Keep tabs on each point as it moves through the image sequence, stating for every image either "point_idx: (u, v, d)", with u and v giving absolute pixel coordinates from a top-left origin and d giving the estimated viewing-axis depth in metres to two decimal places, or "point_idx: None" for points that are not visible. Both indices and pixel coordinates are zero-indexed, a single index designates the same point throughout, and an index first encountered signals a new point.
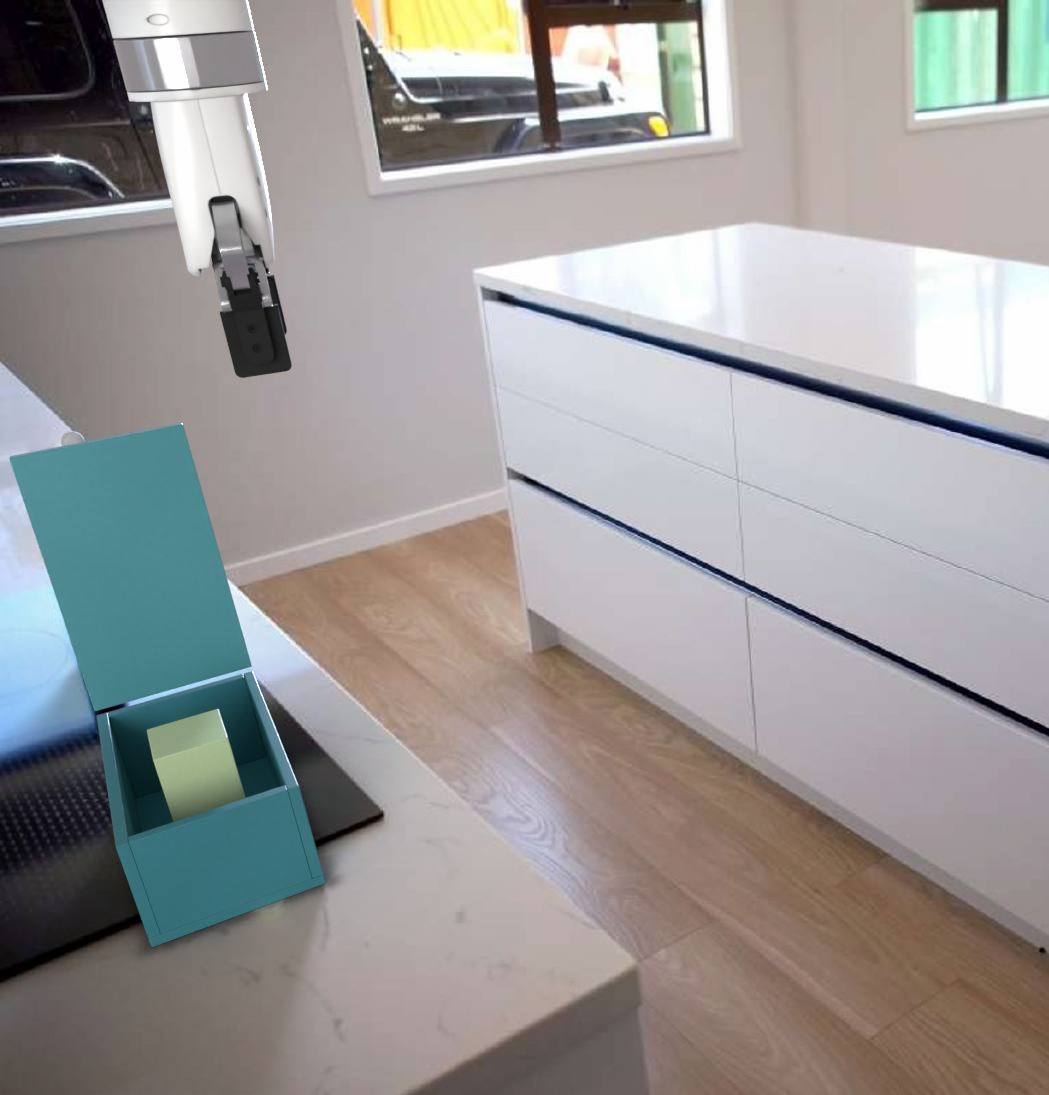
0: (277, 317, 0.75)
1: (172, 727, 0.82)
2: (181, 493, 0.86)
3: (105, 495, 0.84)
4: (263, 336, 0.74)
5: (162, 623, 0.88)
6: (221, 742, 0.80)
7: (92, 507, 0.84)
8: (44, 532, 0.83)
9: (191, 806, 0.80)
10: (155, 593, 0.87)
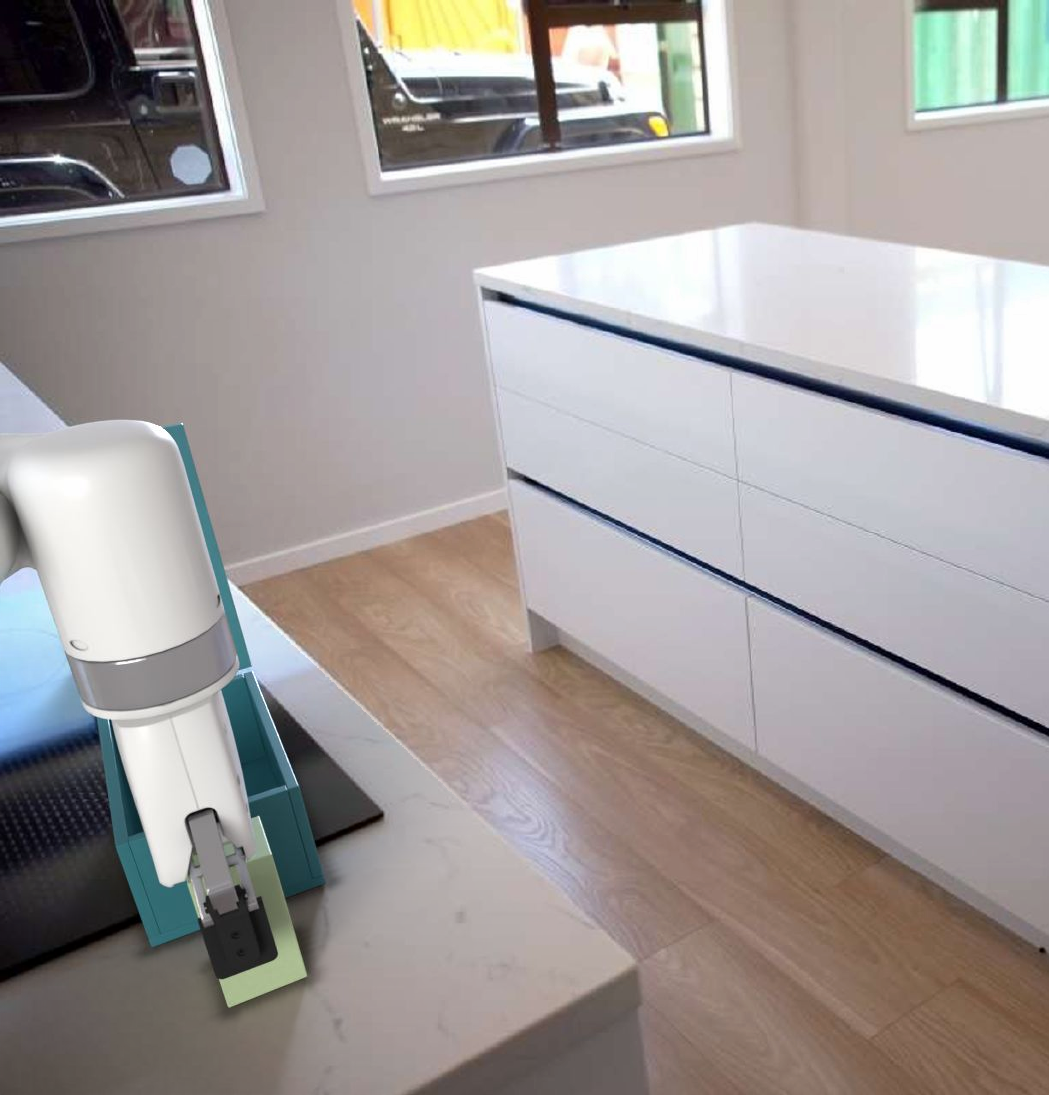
0: (262, 912, 0.67)
1: None
2: None
3: None
4: (248, 939, 0.67)
5: None
6: (264, 860, 0.70)
7: None
8: None
9: None
10: None
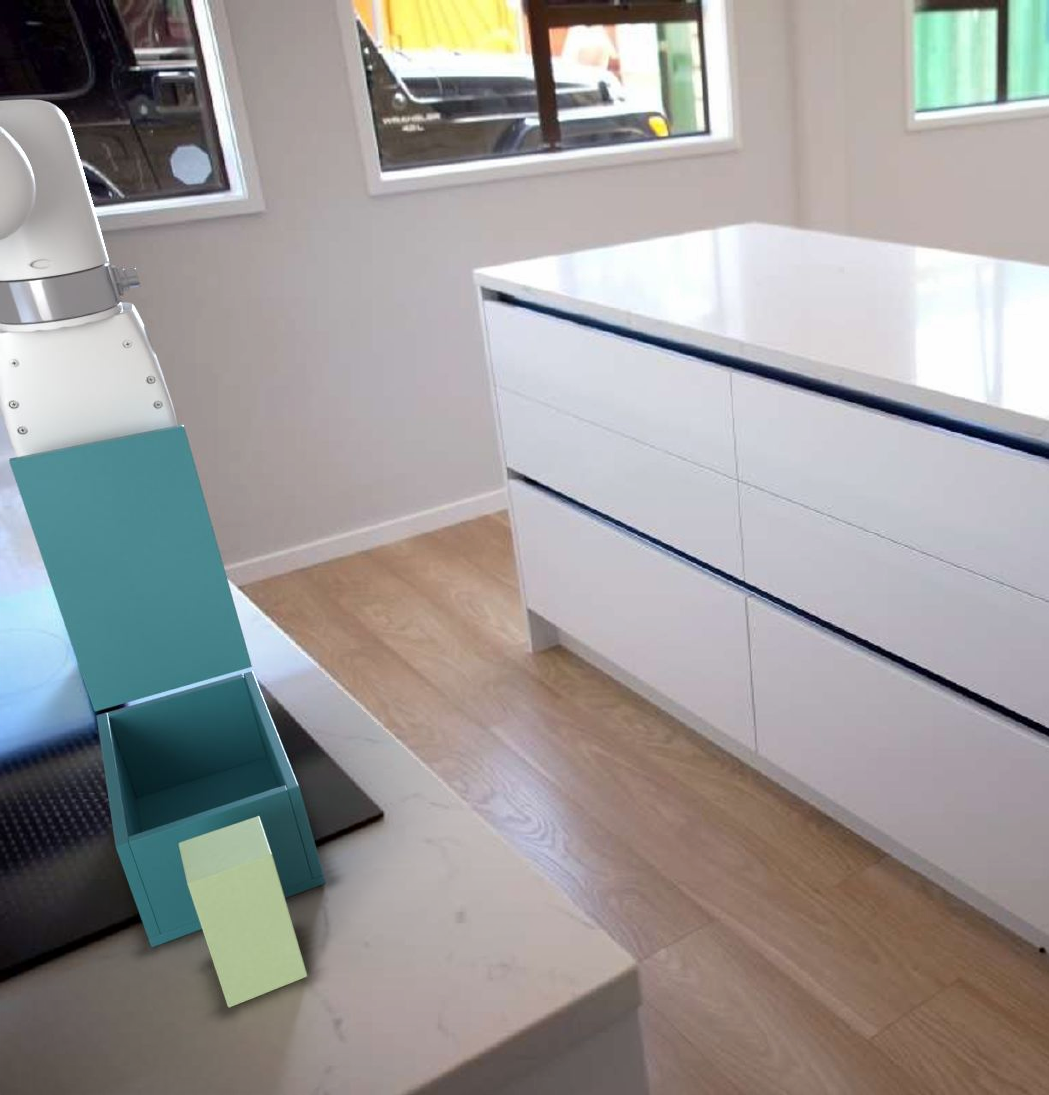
0: None
1: (208, 840, 0.71)
2: (182, 495, 0.86)
3: (106, 497, 0.84)
4: None
5: (162, 624, 0.88)
6: (264, 860, 0.70)
7: (92, 509, 0.83)
8: (44, 534, 0.82)
9: (230, 933, 0.70)
10: (155, 595, 0.87)
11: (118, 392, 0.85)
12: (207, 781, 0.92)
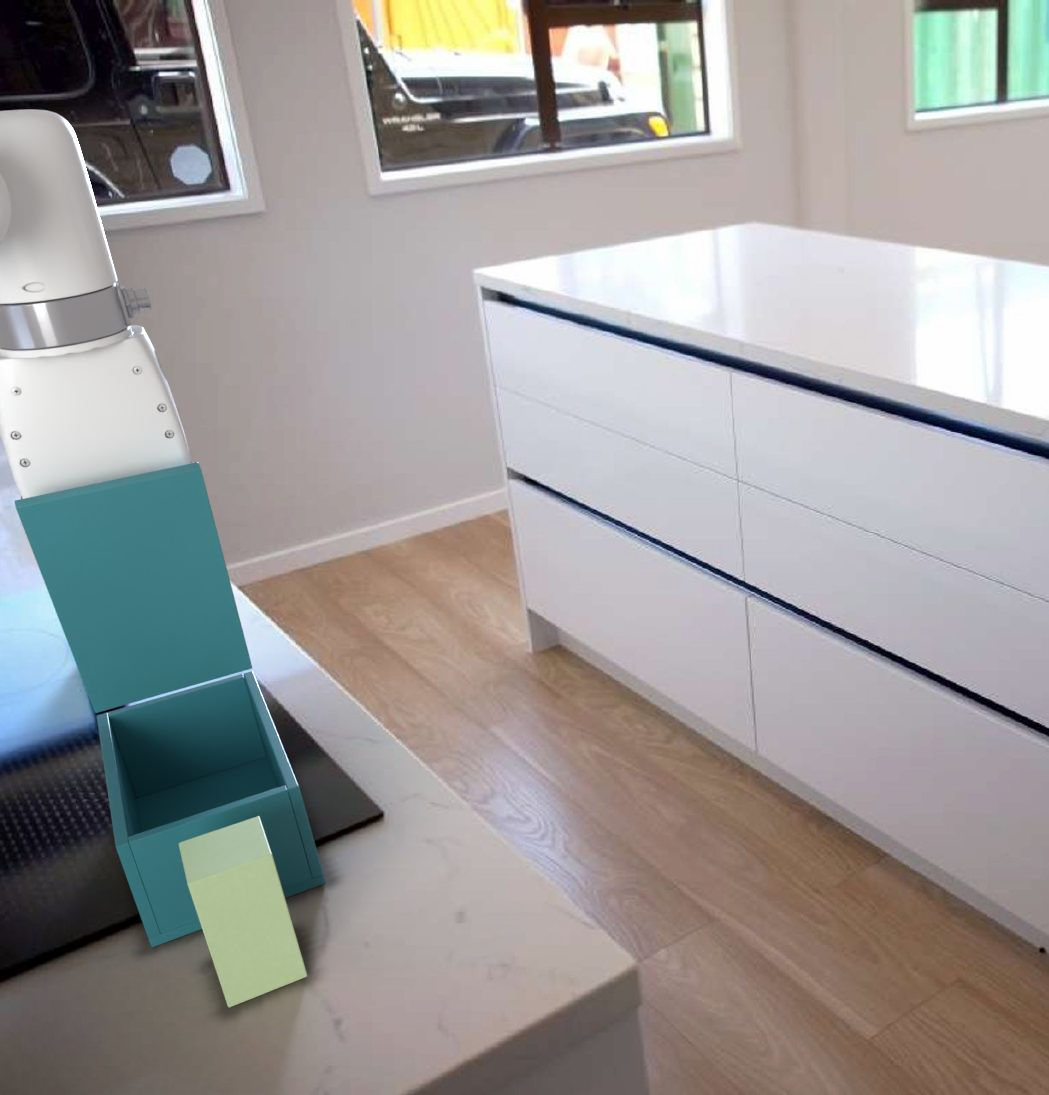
0: None
1: (208, 840, 0.71)
2: (194, 529, 0.82)
3: (115, 535, 0.80)
4: None
5: (167, 639, 0.87)
6: (264, 860, 0.70)
7: (101, 546, 0.80)
8: (50, 570, 0.79)
9: (230, 933, 0.70)
10: (161, 615, 0.85)
11: (127, 421, 0.80)
12: (207, 781, 0.92)
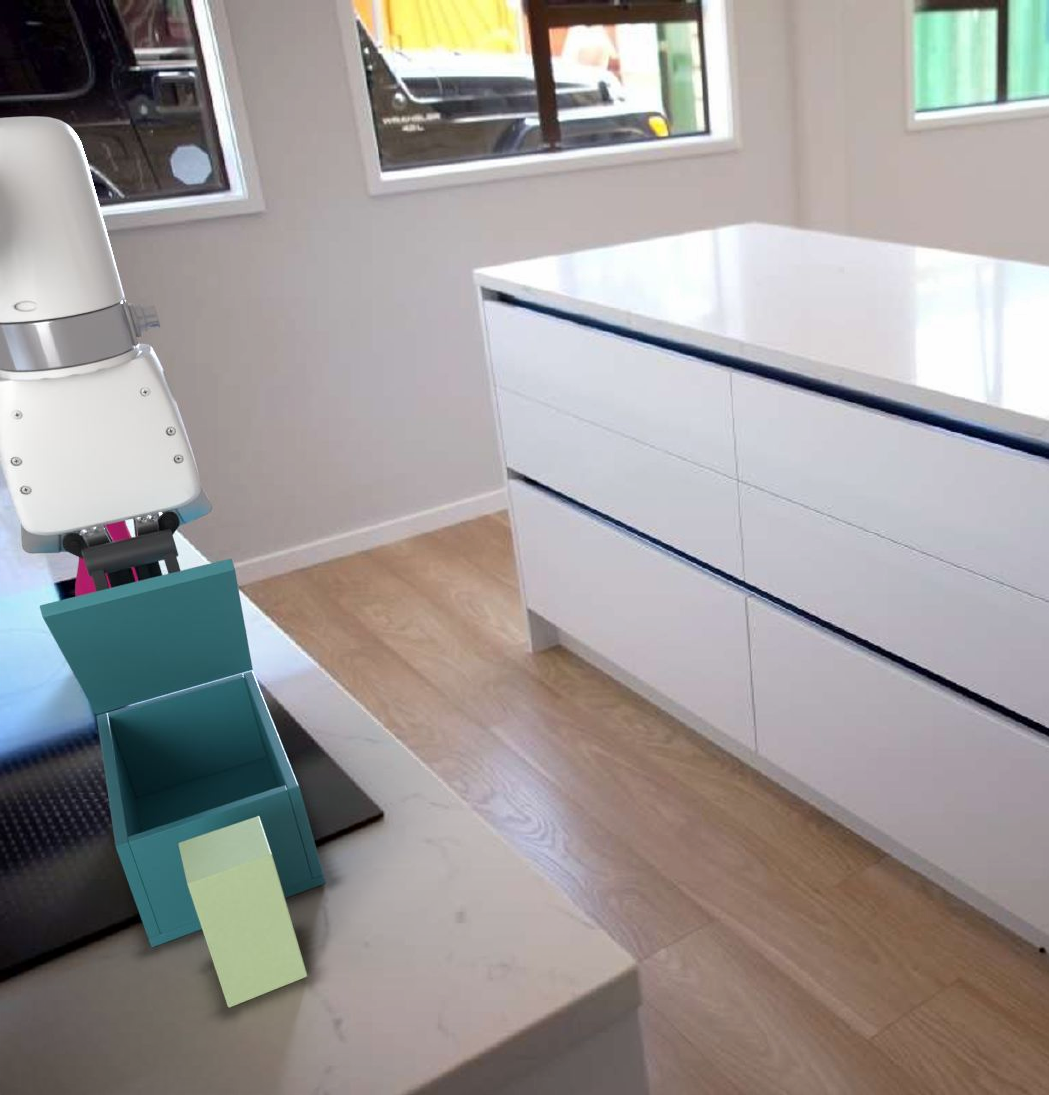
0: (122, 580, 0.78)
1: (208, 840, 0.71)
2: (218, 604, 0.80)
3: (139, 618, 0.77)
4: None
5: (175, 666, 0.86)
6: (264, 860, 0.70)
7: (124, 626, 0.77)
8: (70, 646, 0.76)
9: (230, 933, 0.70)
10: (173, 655, 0.84)
11: (134, 445, 0.75)
12: (207, 781, 0.92)
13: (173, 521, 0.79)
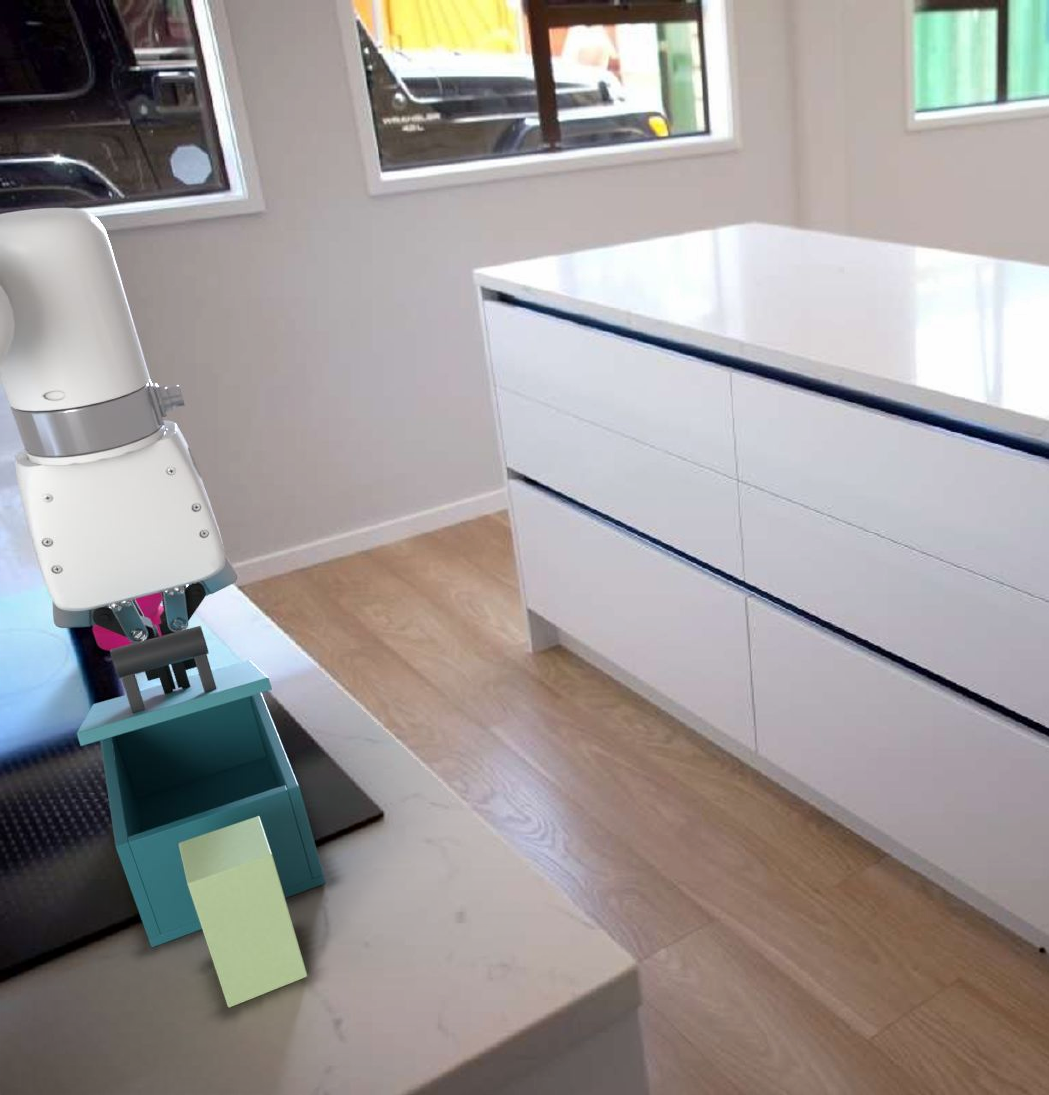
0: None
1: (208, 840, 0.71)
2: None
3: None
4: None
5: None
6: (264, 860, 0.70)
7: None
8: None
9: (230, 933, 0.70)
10: None
11: (161, 522, 0.77)
12: (207, 781, 0.92)
13: (199, 592, 0.81)
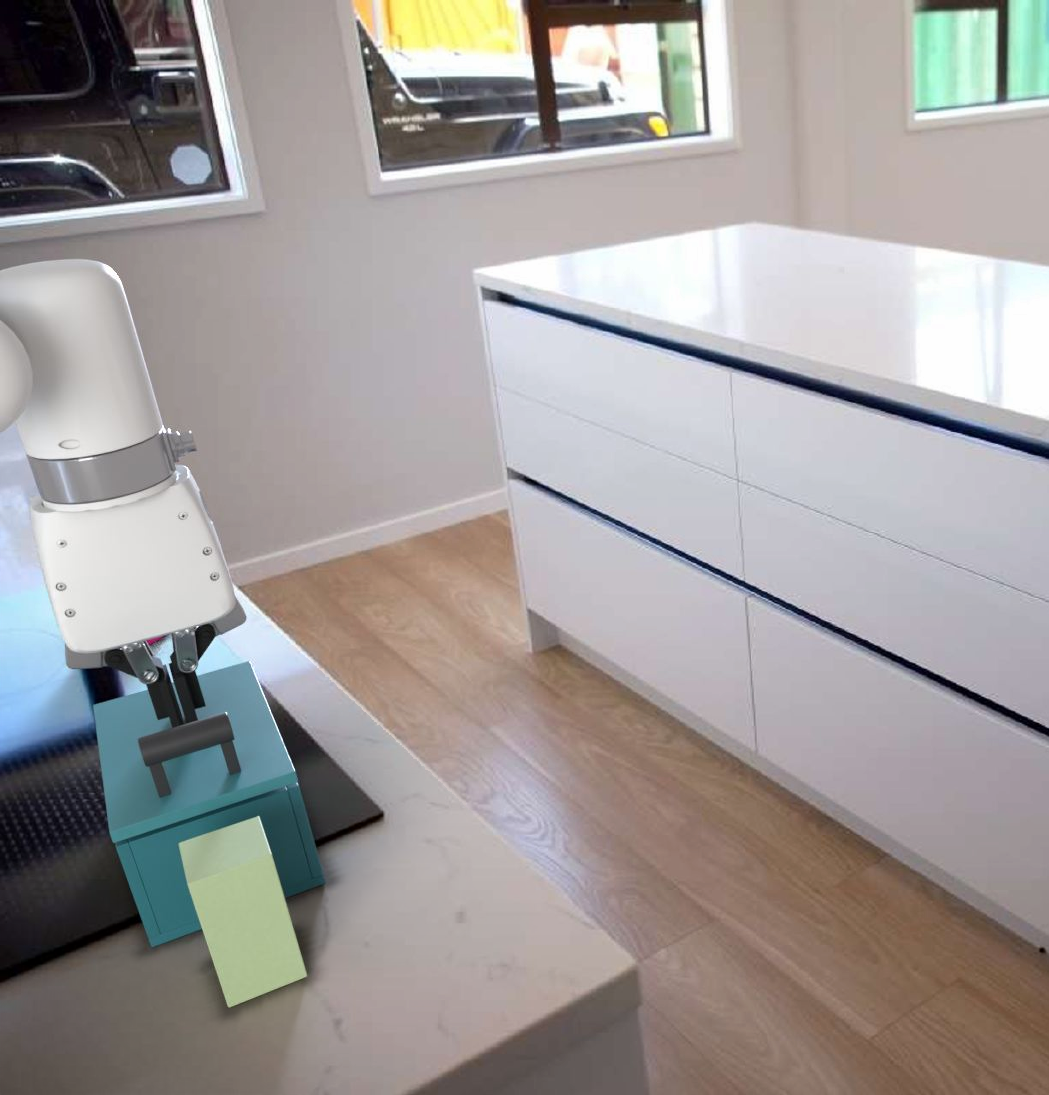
0: (160, 691, 0.81)
1: (208, 840, 0.71)
2: None
3: None
4: None
5: None
6: (264, 860, 0.70)
7: None
8: None
9: (230, 933, 0.70)
10: None
11: (172, 566, 0.78)
12: None
13: (209, 633, 0.82)
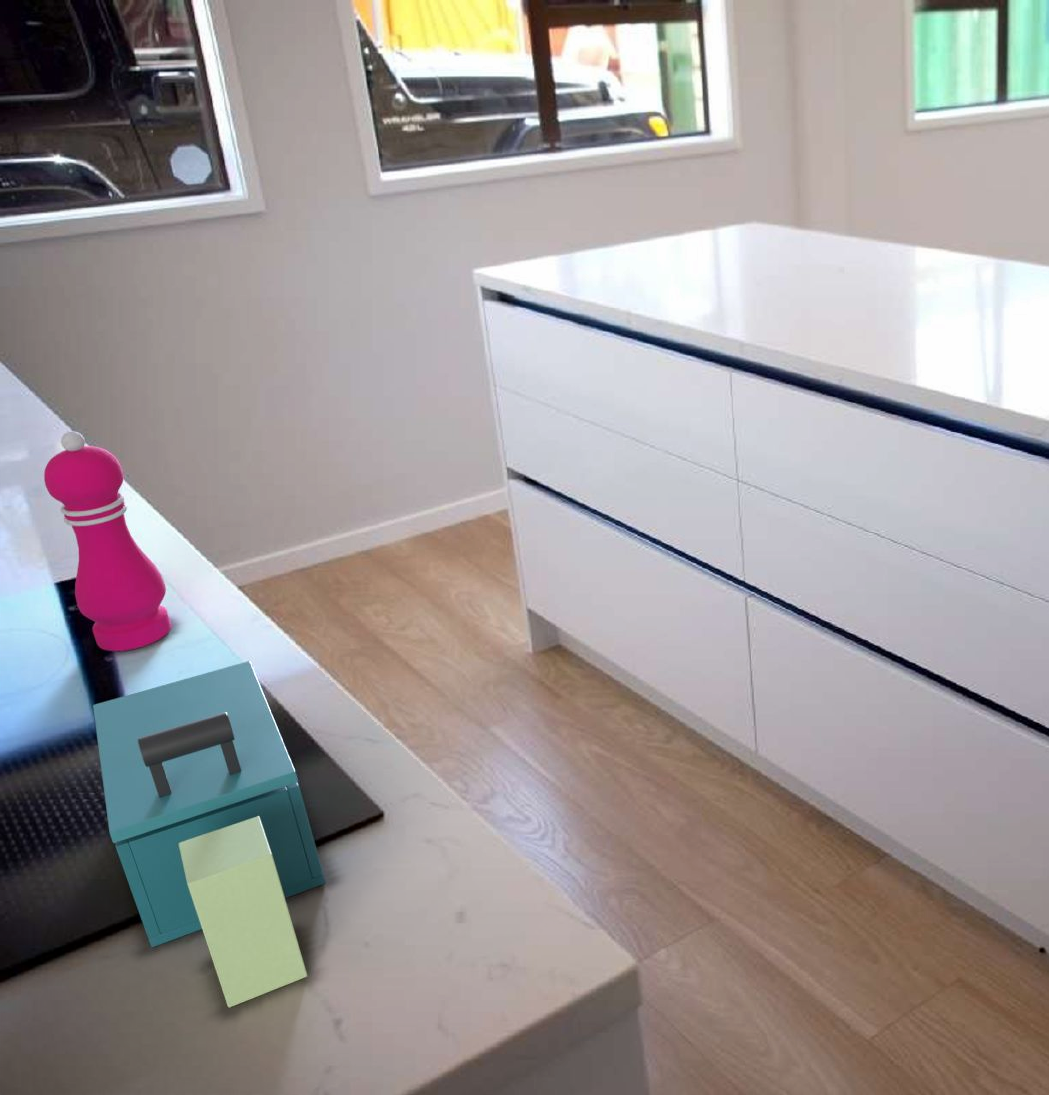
0: None
1: (208, 840, 0.71)
2: None
3: None
4: None
5: None
6: (264, 860, 0.70)
7: None
8: None
9: (230, 933, 0.70)
10: None
11: None
12: None
13: None
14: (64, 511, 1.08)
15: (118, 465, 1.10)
